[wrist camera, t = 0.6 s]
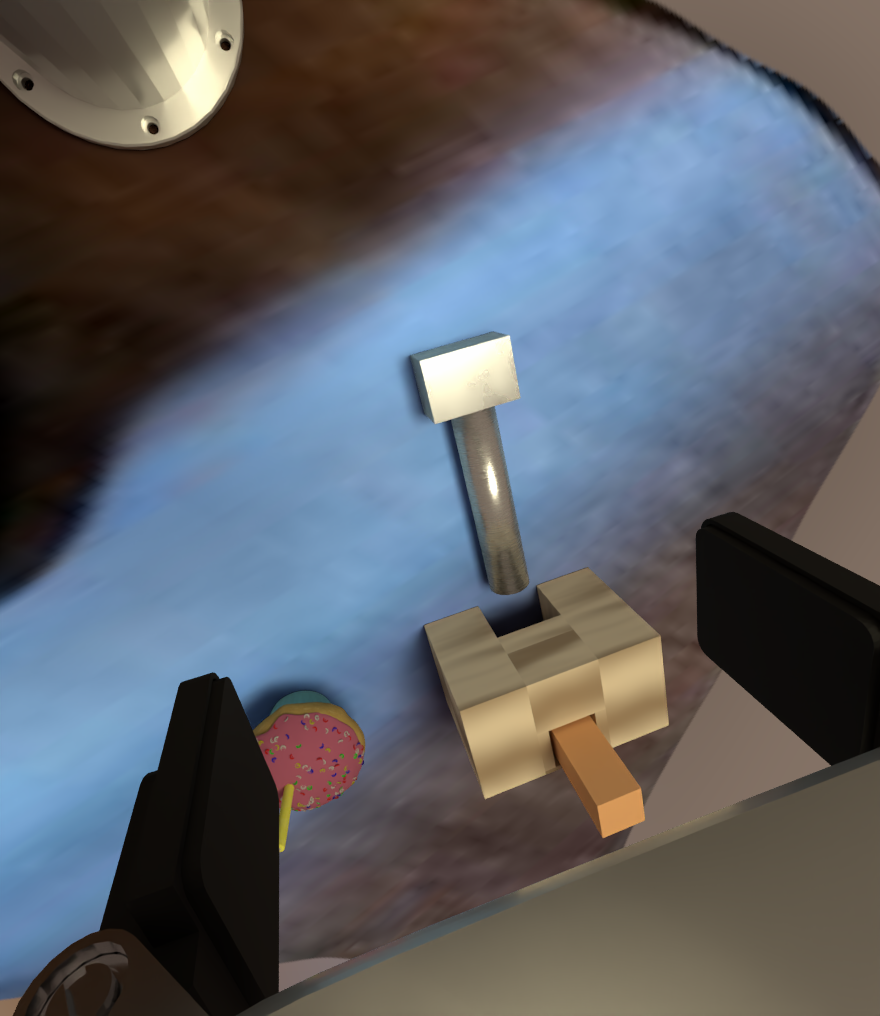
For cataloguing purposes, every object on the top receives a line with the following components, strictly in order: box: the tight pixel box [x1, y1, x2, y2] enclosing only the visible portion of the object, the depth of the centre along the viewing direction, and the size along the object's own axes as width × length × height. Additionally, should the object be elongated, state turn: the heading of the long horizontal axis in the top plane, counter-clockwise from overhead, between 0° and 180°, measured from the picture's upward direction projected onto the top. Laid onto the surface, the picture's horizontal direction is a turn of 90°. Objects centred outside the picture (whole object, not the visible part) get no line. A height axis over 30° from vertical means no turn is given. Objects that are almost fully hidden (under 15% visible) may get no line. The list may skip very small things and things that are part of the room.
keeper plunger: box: [549, 715, 645, 838], centre depth 37 cm, size 3×3×7 cm
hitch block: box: [424, 567, 669, 799], centre depth 43 cm, size 8×14×10 cm, turn 104°
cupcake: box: [253, 691, 365, 852], centre depth 40 cm, size 9×8×12 cm
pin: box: [410, 331, 529, 595], centre depth 40 cm, size 18×6×3 cm, turn 14°
